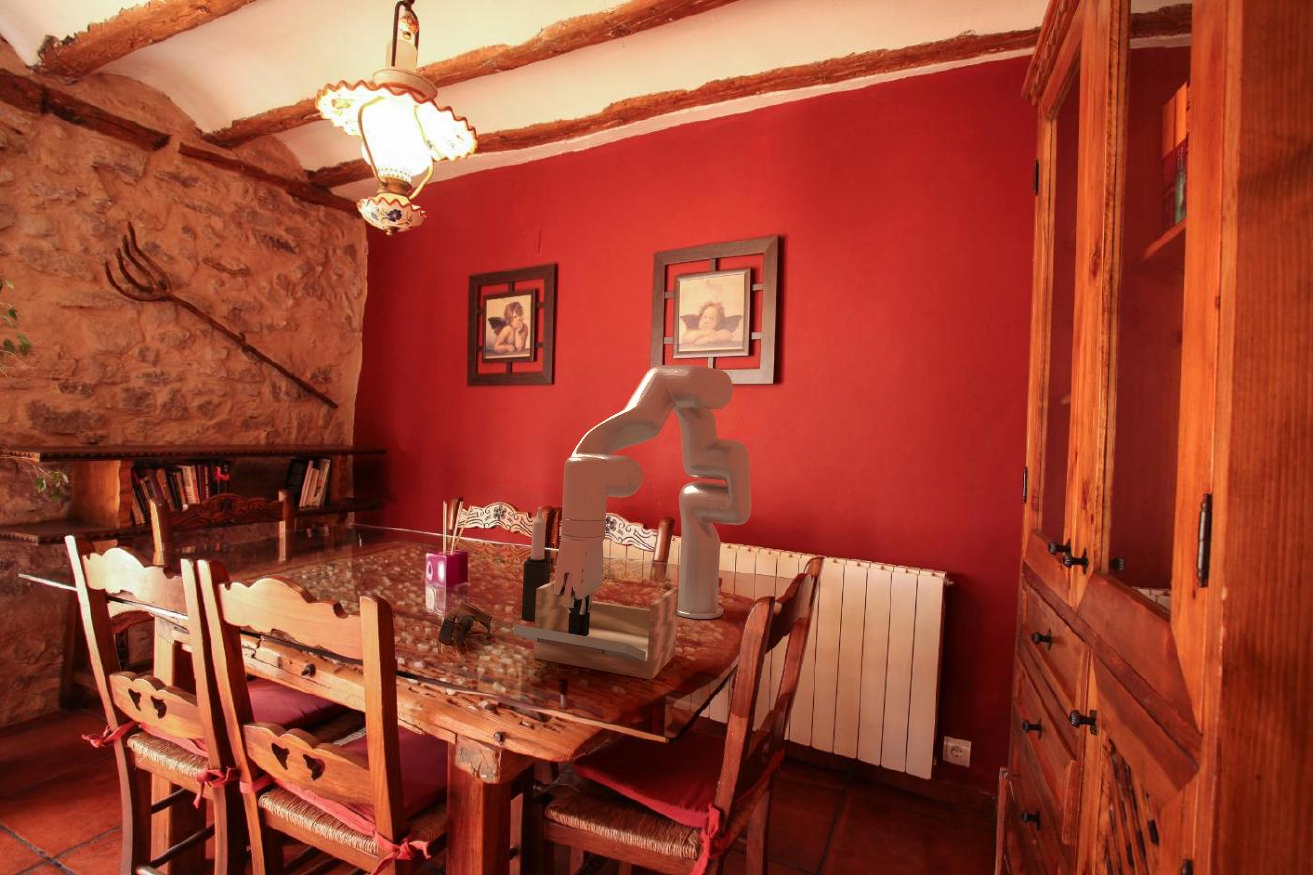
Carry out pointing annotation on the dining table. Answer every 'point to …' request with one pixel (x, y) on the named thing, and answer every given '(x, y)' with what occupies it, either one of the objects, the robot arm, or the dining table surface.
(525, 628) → the panel
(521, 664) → the dining table surface
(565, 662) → the wooden tray crate
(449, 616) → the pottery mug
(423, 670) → the dining table surface
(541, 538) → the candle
